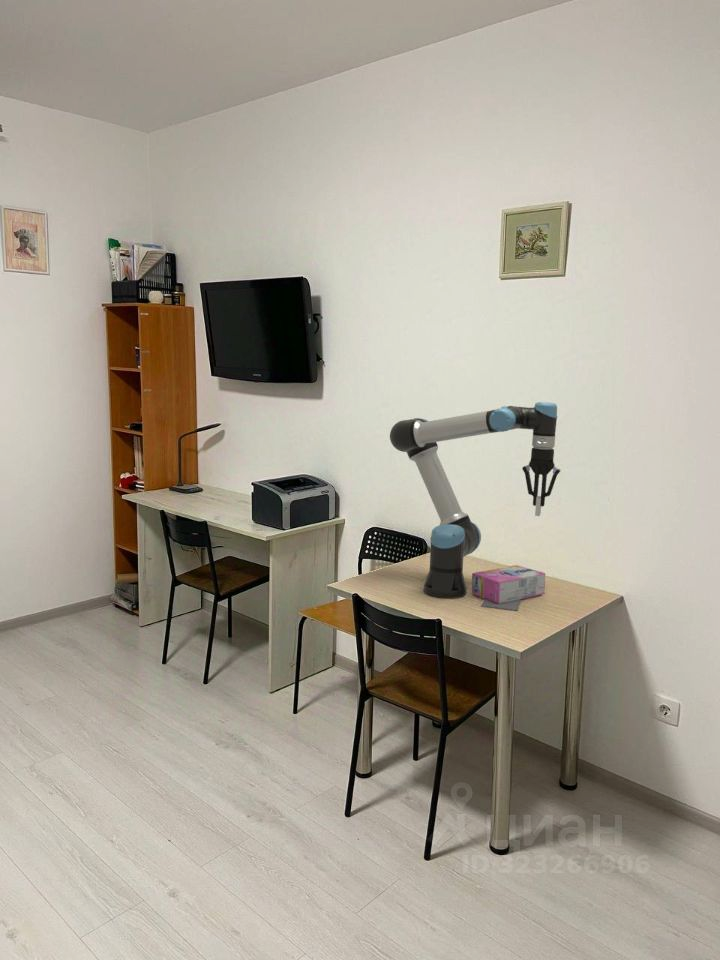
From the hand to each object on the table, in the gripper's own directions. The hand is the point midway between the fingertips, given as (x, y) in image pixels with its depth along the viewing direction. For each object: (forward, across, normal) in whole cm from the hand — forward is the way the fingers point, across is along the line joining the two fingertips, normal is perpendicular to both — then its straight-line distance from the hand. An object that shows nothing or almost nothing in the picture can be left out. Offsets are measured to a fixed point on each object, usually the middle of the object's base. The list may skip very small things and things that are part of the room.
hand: (537, 515), depth 259 cm
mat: (+29, -8, -9) cm, 32 cm away
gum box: (+25, -2, -7) cm, 26 cm away
